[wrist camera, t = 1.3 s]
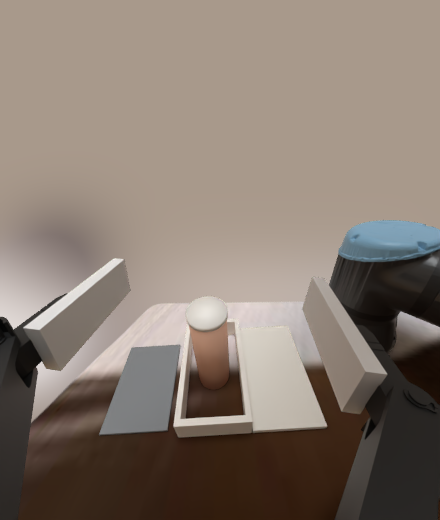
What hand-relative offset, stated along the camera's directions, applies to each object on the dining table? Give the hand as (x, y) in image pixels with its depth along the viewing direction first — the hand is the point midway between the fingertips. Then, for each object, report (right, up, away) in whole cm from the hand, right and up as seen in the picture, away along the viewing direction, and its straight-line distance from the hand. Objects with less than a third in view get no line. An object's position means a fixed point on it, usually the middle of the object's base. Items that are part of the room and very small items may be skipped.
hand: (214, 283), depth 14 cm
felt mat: (-13, -20, +21) cm, 32 cm away
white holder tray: (+5, -19, +22) cm, 29 cm away
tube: (-1, -19, +22) cm, 29 cm away
